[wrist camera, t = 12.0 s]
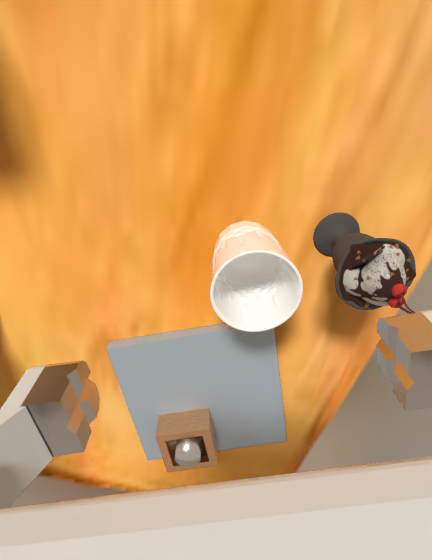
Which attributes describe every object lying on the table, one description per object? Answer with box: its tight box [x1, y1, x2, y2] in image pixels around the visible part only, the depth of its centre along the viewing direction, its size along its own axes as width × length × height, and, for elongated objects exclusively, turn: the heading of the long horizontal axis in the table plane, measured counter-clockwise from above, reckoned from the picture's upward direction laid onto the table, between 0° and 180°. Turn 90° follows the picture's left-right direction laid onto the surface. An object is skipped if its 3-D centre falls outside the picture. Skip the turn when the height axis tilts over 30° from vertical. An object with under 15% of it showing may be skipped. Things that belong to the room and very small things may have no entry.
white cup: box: [210, 221, 303, 332], centre depth 36 cm, size 8×8×10 cm
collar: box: [155, 408, 218, 472], centre depth 48 cm, size 7×7×4 cm
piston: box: [175, 436, 201, 467], centre depth 48 cm, size 3×3×4 cm
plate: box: [106, 323, 287, 461], centre depth 48 cm, size 20×20×2 cm
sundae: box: [314, 213, 416, 314], centre depth 33 cm, size 7×7×15 cm
